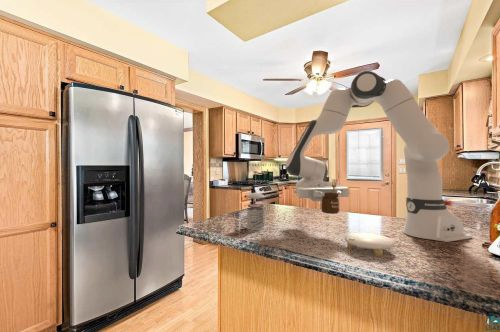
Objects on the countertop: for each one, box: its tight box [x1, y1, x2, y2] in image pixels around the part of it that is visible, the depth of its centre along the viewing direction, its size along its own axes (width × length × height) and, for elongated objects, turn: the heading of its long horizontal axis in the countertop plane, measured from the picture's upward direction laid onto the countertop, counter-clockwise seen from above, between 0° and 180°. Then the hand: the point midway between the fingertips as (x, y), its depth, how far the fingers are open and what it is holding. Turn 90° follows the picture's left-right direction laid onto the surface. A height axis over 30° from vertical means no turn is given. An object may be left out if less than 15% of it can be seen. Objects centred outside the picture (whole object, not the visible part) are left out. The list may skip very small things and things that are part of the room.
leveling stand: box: [344, 232, 394, 258], centre depth 78 cm, size 14×14×4 cm
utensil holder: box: [321, 178, 340, 215], centre depth 88 cm, size 6×6×12 cm
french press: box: [245, 170, 271, 231], centre depth 107 cm, size 10×12×25 cm
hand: (331, 194), depth 87 cm, fingers closed on utensil holder, 5 cm apart
